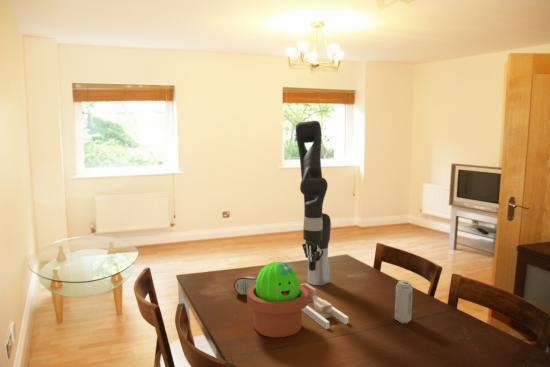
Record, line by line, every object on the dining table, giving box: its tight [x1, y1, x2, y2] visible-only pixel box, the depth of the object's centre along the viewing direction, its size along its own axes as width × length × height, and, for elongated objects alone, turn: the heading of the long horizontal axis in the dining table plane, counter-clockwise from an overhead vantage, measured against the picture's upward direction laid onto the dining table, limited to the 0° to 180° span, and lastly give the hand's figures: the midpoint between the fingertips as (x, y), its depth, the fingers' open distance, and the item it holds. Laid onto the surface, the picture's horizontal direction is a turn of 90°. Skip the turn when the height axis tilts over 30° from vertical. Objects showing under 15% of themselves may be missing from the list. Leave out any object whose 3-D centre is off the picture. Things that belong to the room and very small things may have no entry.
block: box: [313, 299, 333, 319], centre depth 167 cm, size 5×5×5 cm
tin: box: [233, 274, 258, 296], centre depth 187 cm, size 15×3×8 cm, turn 84°
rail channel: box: [300, 282, 350, 330], centre depth 172 cm, size 10×31×5 cm, turn 26°
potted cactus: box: [246, 260, 309, 338], centre depth 157 cm, size 22×22×25 cm
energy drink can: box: [394, 279, 414, 324], centre depth 162 cm, size 6×6×15 cm
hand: (312, 269), depth 172 cm, fingers closed
